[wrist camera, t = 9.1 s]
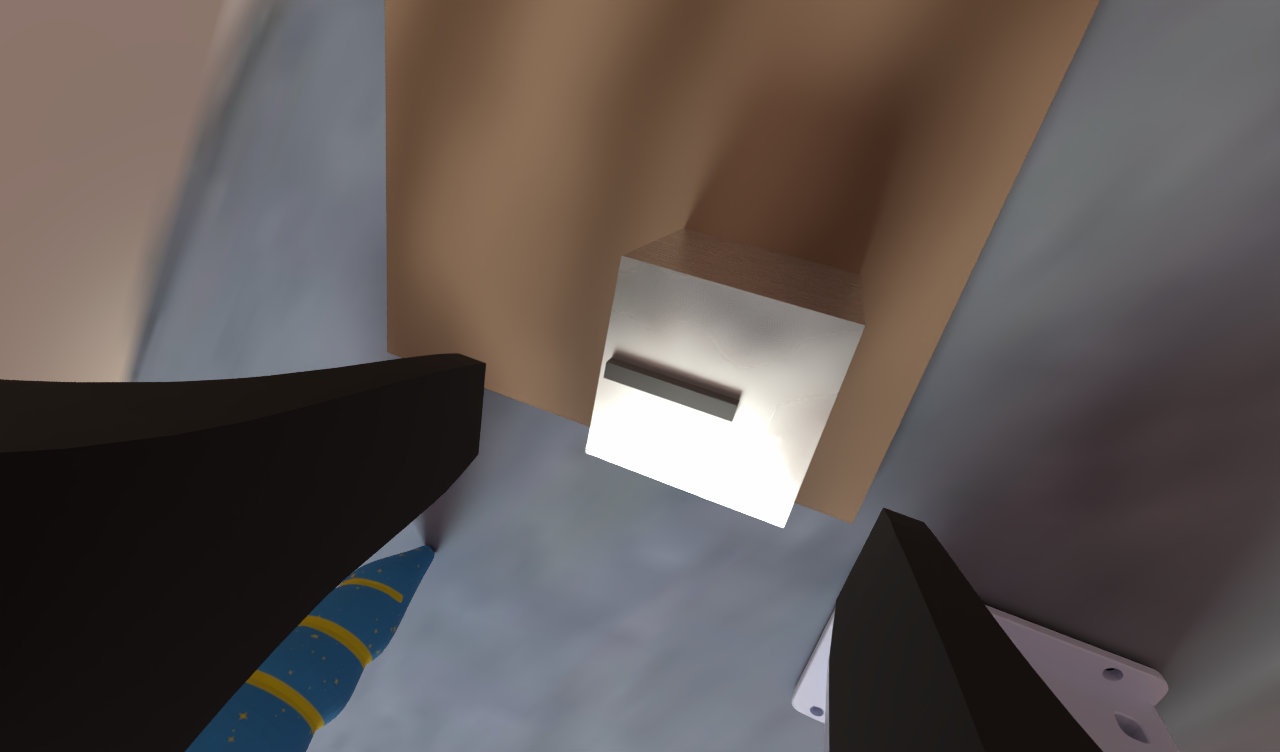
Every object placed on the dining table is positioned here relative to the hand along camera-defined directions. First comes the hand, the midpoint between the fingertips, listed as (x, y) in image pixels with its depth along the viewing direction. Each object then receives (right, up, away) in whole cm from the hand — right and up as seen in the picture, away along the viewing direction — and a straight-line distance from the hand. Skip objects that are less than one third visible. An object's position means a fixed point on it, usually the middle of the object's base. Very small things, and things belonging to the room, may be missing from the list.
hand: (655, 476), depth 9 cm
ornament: (-11, -7, +18) cm, 22 cm away
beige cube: (+3, +3, +7) cm, 8 cm away
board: (0, +7, +8) cm, 11 cm away
